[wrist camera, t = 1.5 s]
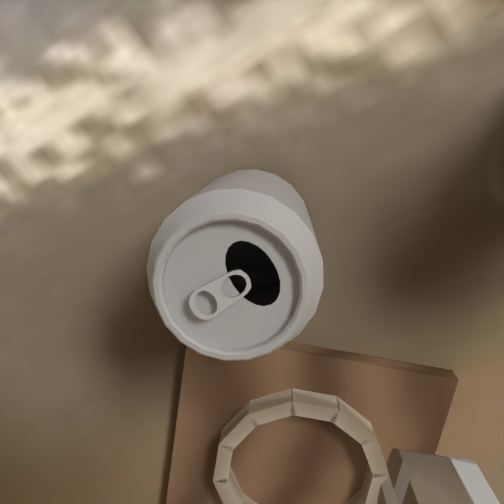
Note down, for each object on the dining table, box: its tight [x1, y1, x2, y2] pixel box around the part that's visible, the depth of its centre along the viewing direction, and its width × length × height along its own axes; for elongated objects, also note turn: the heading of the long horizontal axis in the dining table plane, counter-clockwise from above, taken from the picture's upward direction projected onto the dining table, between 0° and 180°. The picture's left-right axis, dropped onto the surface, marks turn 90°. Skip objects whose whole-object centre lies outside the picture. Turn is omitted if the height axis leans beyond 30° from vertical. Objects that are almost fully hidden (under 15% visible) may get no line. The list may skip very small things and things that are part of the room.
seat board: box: [166, 342, 458, 504], centre depth 31 cm, size 18×17×3 cm
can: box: [147, 169, 323, 361], centre depth 23 cm, size 8×8×12 cm
